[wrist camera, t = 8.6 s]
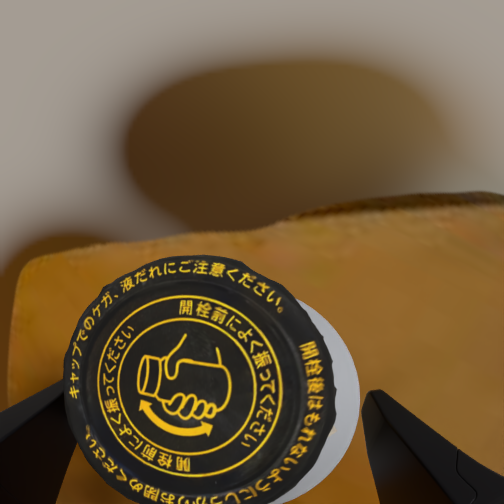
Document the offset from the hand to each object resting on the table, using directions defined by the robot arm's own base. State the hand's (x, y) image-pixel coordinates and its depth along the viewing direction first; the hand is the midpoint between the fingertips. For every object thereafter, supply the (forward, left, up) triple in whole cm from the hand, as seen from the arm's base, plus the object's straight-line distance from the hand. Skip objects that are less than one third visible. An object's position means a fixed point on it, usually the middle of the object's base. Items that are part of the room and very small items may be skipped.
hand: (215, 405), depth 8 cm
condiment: (0, -1, -8) cm, 8 cm away
